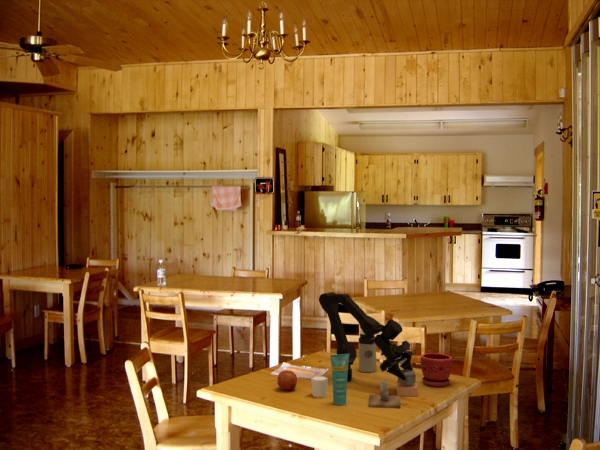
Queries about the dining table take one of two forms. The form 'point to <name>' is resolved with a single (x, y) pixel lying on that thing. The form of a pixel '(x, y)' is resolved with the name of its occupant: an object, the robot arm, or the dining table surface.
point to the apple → (287, 380)
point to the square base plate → (384, 398)
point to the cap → (408, 377)
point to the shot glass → (319, 386)
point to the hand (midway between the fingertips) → (409, 377)
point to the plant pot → (436, 369)
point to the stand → (406, 389)
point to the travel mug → (366, 354)
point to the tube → (339, 377)
